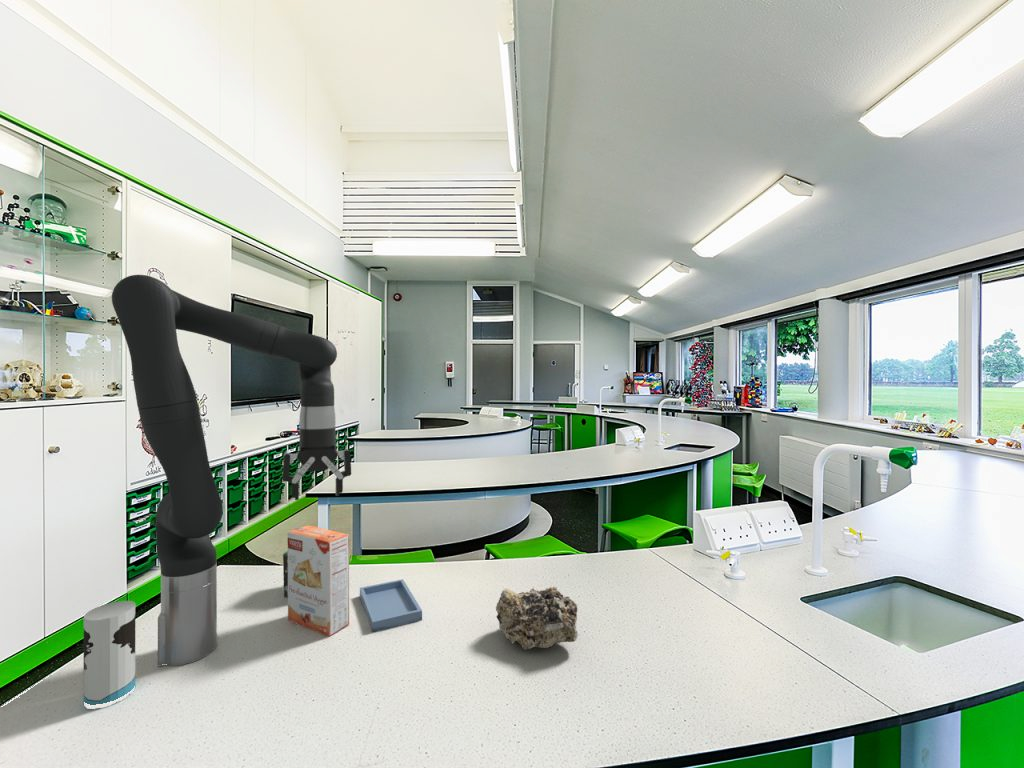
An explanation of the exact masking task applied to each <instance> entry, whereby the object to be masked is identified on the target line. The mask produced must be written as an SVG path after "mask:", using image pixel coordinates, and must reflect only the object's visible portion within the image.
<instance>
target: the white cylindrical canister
mask: <svg viewBox="0 0 1024 768" xmlns="http://www.w3.org/2000/svg"><path fill="white" fill-rule="evenodd" d="M134 686H135V687H136V603H135V601H132V600H119V601H113V602H110V603H107V604H103V605H100V606H97V607H95V608H93V609H91V610H89V611H88V612H86V613H85V614H84V616H83V703H84V702H85V703H87V704H90V705H96V704H103V703H107V702H110V701H114V700H116V699H118V698H120V697H122V696H124V695H125V694H127V693H128V692H130V691H131V690H132V689H133V688H134Z"/></svg>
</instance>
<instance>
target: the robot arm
mask: <svg viewBox="0 0 1024 768" xmlns="http://www.w3.org/2000/svg"><path fill="white" fill-rule="evenodd" d="M111 304H112V308H113V310H114V312H115V314H116V317H117V319H118V322H119V325H120V327H121V330H122V334H123V336H124V338H125V343H126V344H127V348H128V352H129V357H130V361H131V362H130V363H131V372H132V380H133V387H134V393H135V399H136V405H137V408H138V409H137V410H138V414H139V419H140V423H141V427H142V429H143V433H144V436H145V437H146V440H147V442H148V445H149V446H150V448H151V450H152V451H153V453H154V455H155V457H156V458H157V460H158V462H159V464H160V465H161V467H162V469H163V472H164V473H165V477H166V480H167V486H168V493H166V494H165V495H164V496H163V497H162V498H161V500H160V501H159V504H158V505H157V508H156V513H155V542H156V543H155V544H156V545H155V546H156V556H157V559H158V562H159V564H160V613H159V614H158V615H157V666H158V665H162V664H167V665H166V666H169V665H177V666H184V665H187V663H188V664H190V663H193V661H194V662H196V661H199V660H201V659H203V658H205V657H207V656H208V655H210V654H211V653H212V652H213V651H214V650H215V649H216V648H217V644H218V643H217V640H218V639H217V638H218V633H217V632H218V631H217V629H218V622H217V621H218V620H217V619H218V614H217V613H218V610H217V609H218V608H217V607H218V604H217V603H218V598H217V597H218V593H217V592H218V590H217V589H218V587H217V586H218V581H217V580H218V575H217V571H218V570H217V569H218V566H217V562H218V561H217V559H218V557H217V556H218V553H217V549H216V547H215V545H214V543H213V542H212V540H211V537H210V534H211V533H213V532H214V531H215V530H216V529H217V528H218V526H219V524H220V522H221V520H222V517H223V514H224V513H223V512H224V509H223V508H224V507H223V501H222V498H221V495H220V493H219V490H218V487H217V484H216V481H215V479H214V474H213V472H212V469H211V466H210V462H209V457H208V456H209V455H208V450H207V444H206V440H205V434H204V431H203V425H202V417H201V412H200V407H199V402H198V397H197V393H196V391H195V387H194V385H193V381H192V378H191V375H190V373H189V371H188V368H187V366H186V364H185V361H184V359H183V356H182V354H181V351H180V347H179V342H178V336H177V335H178V334H177V330H179V331H185V332H188V333H192V334H193V333H194V334H197V335H201V336H204V337H205V336H206V337H207V338H210V339H211V338H212V339H215V340H218V341H220V342H224V343H226V344H229V345H232V346H235V347H237V348H241V349H244V350H247V351H251V352H254V353H258V354H261V355H263V356H264V355H265V356H268V357H271V358H277V359H285V360H289V361H292V362H296V363H298V366H299V376H300V383H301V386H300V387H301V388H300V410H299V411H300V412H299V421H298V425H299V426H298V427H299V450H298V452H297V453H289V452H285V453H284V455H283V466H282V481H283V482H288V483H290V485H291V497H292V499H295V501H299V494H300V489H299V488H300V483H299V481H300V480H301V478H302V477H303V476H304V475H305V474H306V472H307V471H308V472H310V473H312V472H317V471H321V472H324V471H326V470H329V471H331V473H333V474H334V476H336V478H335V496H336V497H338V496H340V495H341V494H343V490H344V484H343V483H344V481H343V480H344V478H346V477H350V476H351V475H352V464H351V463H352V461H351V451H350V450H349V449H348V448H345V449H344V450H337V447H336V424H337V423H336V411H335V410H336V409H335V386H334V384H333V382H332V375H331V374H332V373H331V372H332V371H331V366H332V365H333V364H334V363H335V362H336V360H337V357H338V352H337V348H336V346H335V345H334V343H333V342H332V341H330V340H329V339H327V338H324V337H323V336H319V335H315V334H311V333H307V332H304V331H300V330H299V331H298V330H293V329H289V328H287V327H285V326H282V325H279V324H276V323H272V322H270V321H268V320H267V321H266V320H263V319H260V318H258V317H257V318H256V317H254V316H251V315H247V314H242V313H237V312H234V311H229V310H225V309H221V308H218V307H216V306H215V307H214V306H211V305H208V304H205V303H202V302H200V301H197V300H195V299H192V298H190V297H188V296H186V295H184V294H182V293H179V292H177V291H175V290H173V289H172V288H171V287H169V286H168V285H167V284H166V283H165V282H164V281H163V280H162V281H161V280H160V279H158V278H156V277H153V276H149V275H145V274H133V275H128V276H126V277H124V278H122V279H120V280H119V281H118V282H117V283H116V284H115V286H114V288H113V289H112V291H111ZM338 456H339V457H340V459H341V460H342V461H343V464H344V465H343V466H344V467H343V468H344V470H343V471H340V470H339V468H338V467H337V466H336V465H335V464H334V462H335V460H336V459H337V458H338ZM296 459H297V460H298V462H300V464H301V465H300V466H299V468H298V469H297V471H296V472H295V473H294V475H290V468H291V466H290V465H291V464H293V463H294V462H295V460H296ZM162 666H163V665H162Z"/></svg>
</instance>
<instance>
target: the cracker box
mask: <svg viewBox="0 0 1024 768" xmlns="http://www.w3.org/2000/svg"><path fill="white" fill-rule="evenodd" d="M287 551H288V597H287V621H289V622H291V623H294V624H296V625H300V626H302V627H304V628H306V629H310V630H312V631H314V632H317V633H320V634H322V635H324V636H327V637H331V636H333V635H334V634H336V633H338V632H339V631H341V630H342V629H344V628H346V627H347V626H348V625H350V534H348V533H343V532H340V531H334V530H330V529H327V528H322V527H318V526H314V525H304V526H301V527H298V528H295V529H292V530H289V531H287Z"/></svg>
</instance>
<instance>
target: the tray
mask: <svg viewBox="0 0 1024 768" xmlns="http://www.w3.org/2000/svg"><path fill="white" fill-rule="evenodd" d="M359 598H360V601H361V604H362V606H363V609H364V612H365V615H366V619H367V621H368V624H369V626H370V629H371V632H372V633H375V632H378V631H383V630H388V629H390V628H392V629H393V628H395V627H400V626H403V625H407V624H412V623H415V622H419V621H420V622H421V621H423V610H422V608H421V607H420V605H419V603H418V601H417V600H416V598H415V597H414V595H413V593H412V592H411V590H410V588H409V586H408V585H407V583H406V582H405V580H404V579H403V578H402V579H398V580H392V581H386V582H382V583H376V584H373V585H367V586H362V587H359Z"/></svg>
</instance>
